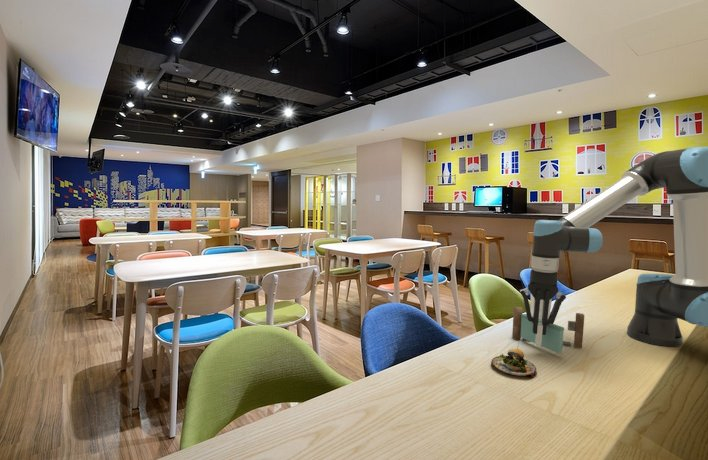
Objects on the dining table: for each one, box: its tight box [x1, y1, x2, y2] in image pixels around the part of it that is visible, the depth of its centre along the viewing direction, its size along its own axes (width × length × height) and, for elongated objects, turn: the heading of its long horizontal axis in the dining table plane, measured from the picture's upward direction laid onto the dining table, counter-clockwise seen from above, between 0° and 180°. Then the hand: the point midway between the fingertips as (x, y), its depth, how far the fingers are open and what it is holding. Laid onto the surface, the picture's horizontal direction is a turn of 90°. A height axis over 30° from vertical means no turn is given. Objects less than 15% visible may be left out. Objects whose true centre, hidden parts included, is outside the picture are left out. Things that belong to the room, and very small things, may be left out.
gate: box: [521, 313, 565, 354], centre depth 119 cm, size 14×2×8 cm, turn 24°
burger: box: [490, 343, 537, 379], centre depth 105 cm, size 12×12×8 cm
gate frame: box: [511, 306, 585, 349], centre depth 125 cm, size 21×4×11 cm, turn 71°
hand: (538, 343), depth 115 cm, fingers closed
